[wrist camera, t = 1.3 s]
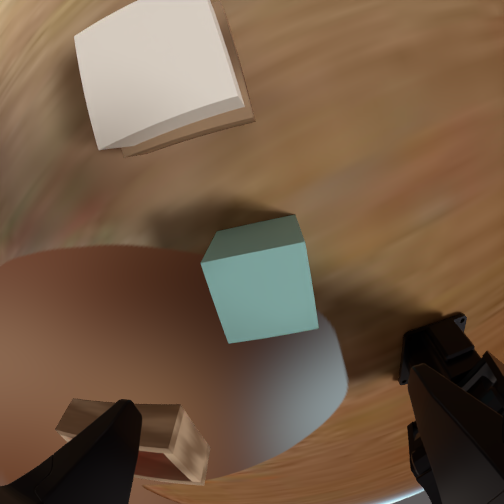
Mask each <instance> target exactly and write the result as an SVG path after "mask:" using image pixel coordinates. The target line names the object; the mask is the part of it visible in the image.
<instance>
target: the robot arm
mask: <svg viewBox="0 0 504 504" xmlns="http://www.w3.org/2000/svg"><path fill="white" fill-rule="evenodd" d="M466 320H467V317H466V316H465V315H464V314H459V315H457V316H454V317H451V318H448V319H445V320H443V321H440V322H437V323H434V324H431V325H428V326H425V327H421V328H418V329H415V330H412V331H409V332H407V333H406V334H405V335H404V337H403V347H402V356H401V364H400V372H399V379H398V381H399V384H400V385H405V384H408V392H409V395H410V399H411V403H412V407H413V411H414V415H415V419H416V421H414V422H412V423H410V424H409V425H408V426H407V429H408V440H409V454H410V466H411V471H412V472H413V474H414V476H415V477H416V480H417V482H418V483H419V484H420V485H421V486H422V487H423V488H424V490H425V491H426V492H427V494H428V496H429V498H430V500H431V502H432V504H504V364H503V363H502V362H500V361H499V360H498V359H497V358H496V357H494V356H493V355H492V354H491V353H490V352H488V351H486V352H485V353H484V355H483V357H482V358H481V357H480V356H479V355H478V353H477V352H476V350H475V349H474V345H473V344H472V342H471V341H470V340H469V338H468V337H467V336H466V335H465V333H464V329H465V324H466ZM409 337H410V338H409ZM141 428H142V415H141V413H140V411H139V410H138V409H137V407H136V406H135V405H134V403H133V402H132V401H131V400H125V399H121V400H119V401H117V402H116V403H115V404H114V405H113V406H111V407H110V408H109V409H108V410H107V411H105V412H104V413H103V414H102V415H101V416H99V417H98V418H97V419H96V420H95V421H93V422H92V423H91V424H90V425H89V426H87V427H86V428H85V429H84V430H82V431H81V432H80V433H79V434H78V435H76V436H75V437H74V438H73V439H71V440H70V441H69V442H68V443H67V444H65V445H64V446H63V447H62V448H60V449H59V450H58V451H57V452H55V453H54V455H52V456H50V457H49V458H48V459H47V460H45V461H44V462H43V463H41V464H40V465H39V466H37V467H36V468H34V469H33V470H31V471H30V472H28V473H26V474H25V475H23V476H22V477H20V478H19V479H17V480H15V481H14V482H12V483H10V484H8V485H5V486H0V504H128V502H129V497H130V492H131V487H132V482H133V477H134V473H135V468H136V464H137V459H138V453H139V445H140V436H141Z"/></svg>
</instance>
